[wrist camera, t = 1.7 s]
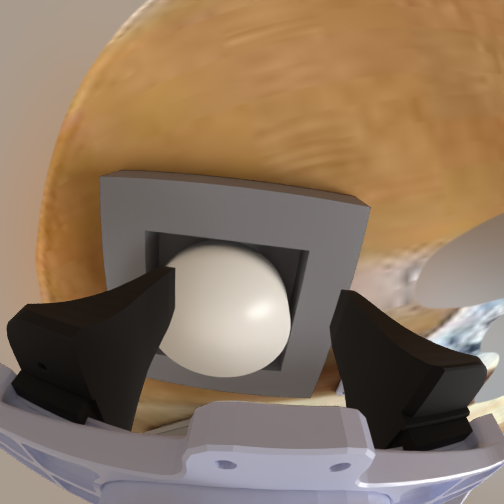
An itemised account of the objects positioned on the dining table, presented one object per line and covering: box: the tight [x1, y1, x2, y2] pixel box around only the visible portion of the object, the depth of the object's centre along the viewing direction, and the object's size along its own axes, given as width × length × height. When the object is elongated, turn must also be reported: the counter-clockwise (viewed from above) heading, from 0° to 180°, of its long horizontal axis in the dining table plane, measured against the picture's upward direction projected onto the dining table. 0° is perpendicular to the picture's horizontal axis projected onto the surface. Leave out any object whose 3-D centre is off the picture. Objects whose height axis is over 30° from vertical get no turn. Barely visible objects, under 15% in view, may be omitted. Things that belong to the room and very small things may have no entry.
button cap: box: [159, 240, 290, 377], centre depth 20 cm, size 10×10×3 cm
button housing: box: [100, 170, 371, 398], centre depth 22 cm, size 18×18×4 cm
